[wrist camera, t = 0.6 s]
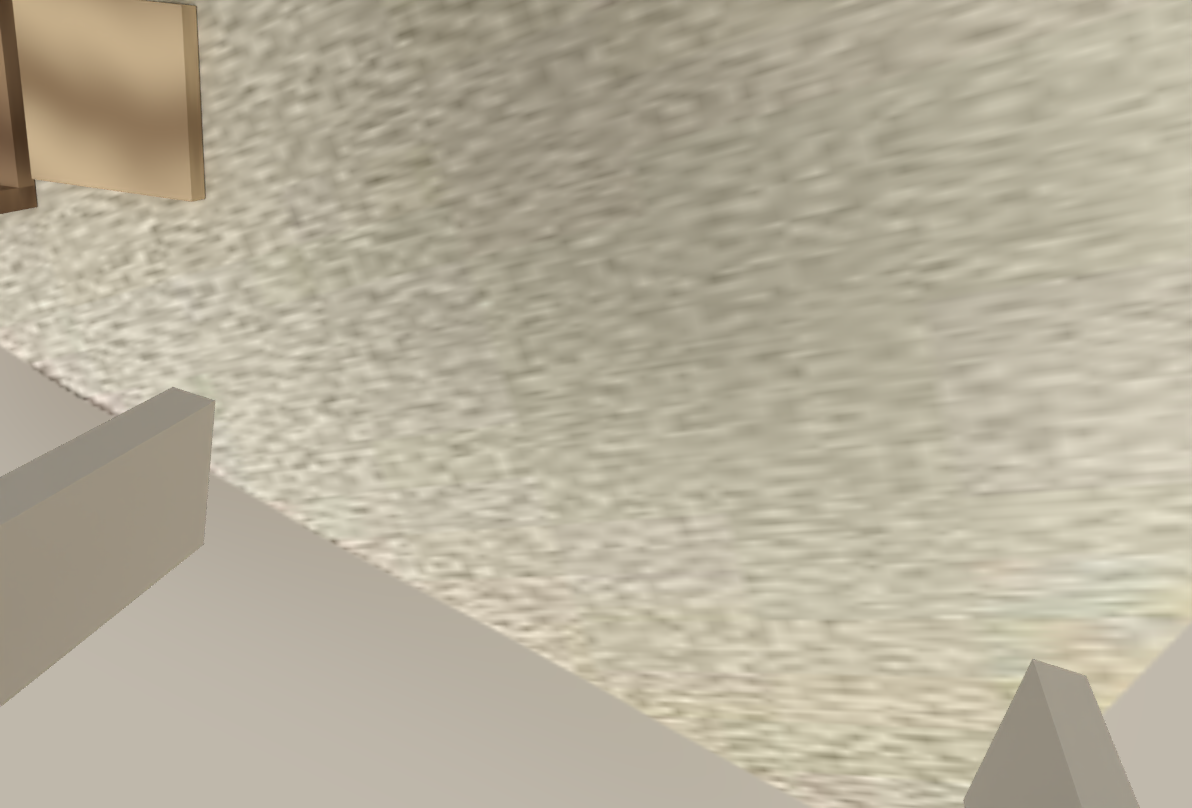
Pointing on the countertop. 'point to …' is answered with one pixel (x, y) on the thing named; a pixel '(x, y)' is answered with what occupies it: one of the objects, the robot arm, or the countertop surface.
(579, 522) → the countertop surface
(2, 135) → the wooden frame with block
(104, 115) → the broken strip
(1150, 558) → the countertop surface
